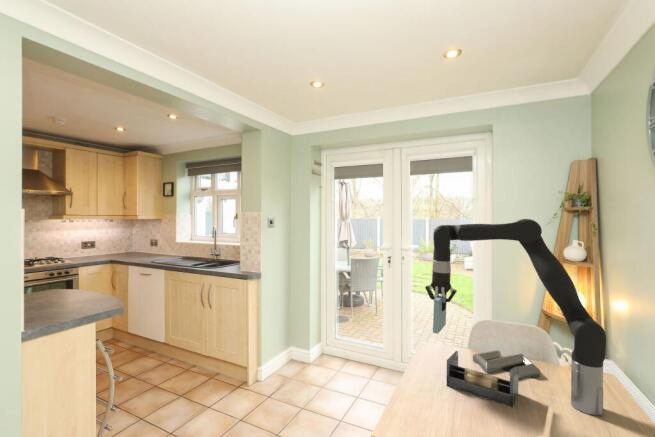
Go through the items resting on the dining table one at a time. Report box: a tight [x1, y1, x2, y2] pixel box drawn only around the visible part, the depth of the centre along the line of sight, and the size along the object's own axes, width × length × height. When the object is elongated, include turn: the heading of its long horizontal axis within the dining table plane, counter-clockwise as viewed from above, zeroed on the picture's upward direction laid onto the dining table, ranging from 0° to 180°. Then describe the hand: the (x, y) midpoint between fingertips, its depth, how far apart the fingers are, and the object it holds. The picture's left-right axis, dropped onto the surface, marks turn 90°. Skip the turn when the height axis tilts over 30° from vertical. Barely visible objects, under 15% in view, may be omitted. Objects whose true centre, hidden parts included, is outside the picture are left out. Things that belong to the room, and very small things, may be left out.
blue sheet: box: [432, 294, 447, 335], centre depth 141 cm, size 14×2×14 cm, turn 147°
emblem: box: [472, 350, 541, 381], centre depth 151 cm, size 28×5×28 cm
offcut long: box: [465, 367, 499, 391], centre depth 129 cm, size 12×2×7 cm, turn 51°
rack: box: [446, 350, 519, 409], centre depth 130 cm, size 24×12×12 cm, turn 51°
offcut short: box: [467, 374, 493, 389], centre depth 127 cm, size 9×2×6 cm, turn 51°
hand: (440, 309), depth 141 cm, fingers closed on blue sheet, 2 cm apart
